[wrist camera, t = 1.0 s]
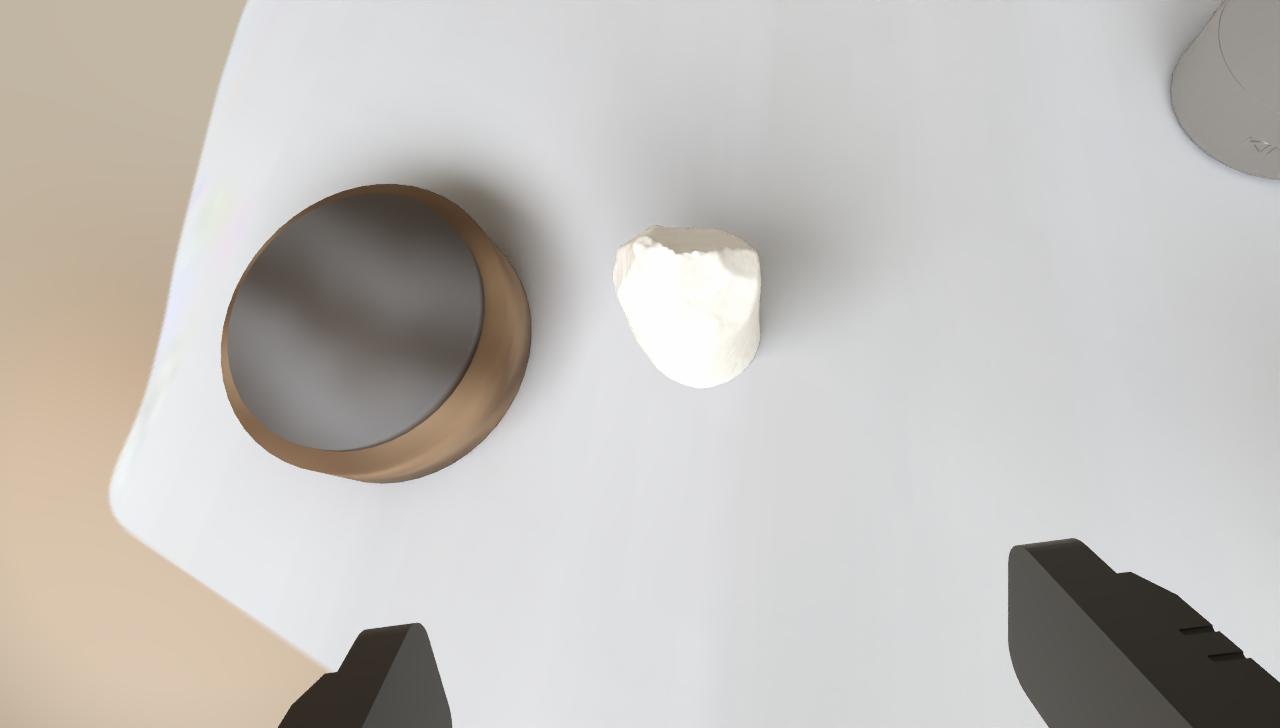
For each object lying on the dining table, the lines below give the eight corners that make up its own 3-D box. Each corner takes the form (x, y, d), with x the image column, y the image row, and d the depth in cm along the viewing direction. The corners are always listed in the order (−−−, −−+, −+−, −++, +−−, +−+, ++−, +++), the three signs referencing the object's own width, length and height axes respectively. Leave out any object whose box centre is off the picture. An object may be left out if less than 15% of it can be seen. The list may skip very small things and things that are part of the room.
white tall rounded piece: (757, 152, 25) (763, 302, 23) (759, 283, 36) (763, 390, 34) (589, 166, 26) (585, 311, 24) (643, 290, 37) (642, 394, 35)
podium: (333, 200, 42) (280, 155, 37) (566, 246, 38) (539, 202, 34) (231, 443, 39) (160, 426, 34) (477, 517, 35) (434, 509, 31)
